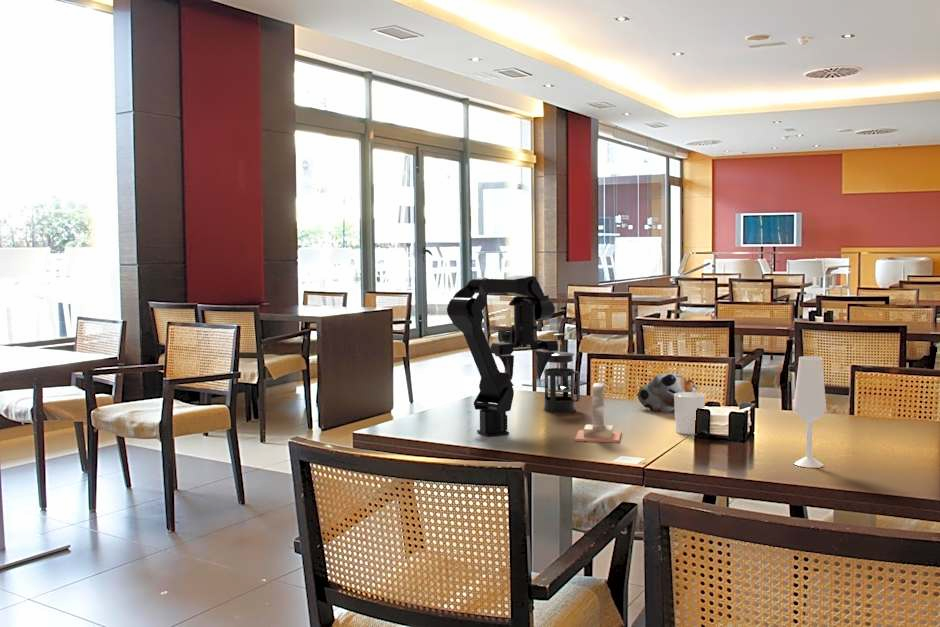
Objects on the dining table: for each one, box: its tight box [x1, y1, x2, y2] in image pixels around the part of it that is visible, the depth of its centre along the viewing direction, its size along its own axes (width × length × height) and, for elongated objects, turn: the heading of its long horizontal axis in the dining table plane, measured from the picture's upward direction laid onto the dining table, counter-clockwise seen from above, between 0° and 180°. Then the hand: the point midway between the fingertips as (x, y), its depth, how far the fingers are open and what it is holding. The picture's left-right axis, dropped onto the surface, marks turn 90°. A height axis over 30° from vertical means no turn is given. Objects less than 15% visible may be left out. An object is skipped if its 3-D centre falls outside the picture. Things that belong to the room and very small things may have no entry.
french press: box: [543, 332, 581, 413], centre depth 266 cm, size 12×9×23 cm
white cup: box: [674, 391, 706, 435], centre depth 232 cm, size 8×8×10 cm
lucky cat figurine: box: [636, 372, 698, 414], centre depth 263 cm, size 15×12×14 cm
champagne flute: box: [793, 355, 827, 467], centre depth 196 cm, size 7×7×24 cm
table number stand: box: [583, 382, 614, 438], centre depth 227 cm, size 7×6×13 cm
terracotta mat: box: [574, 429, 622, 444], centre depth 228 cm, size 11×11×1 cm
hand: (524, 378), depth 243 cm, fingers open, 9 cm apart
